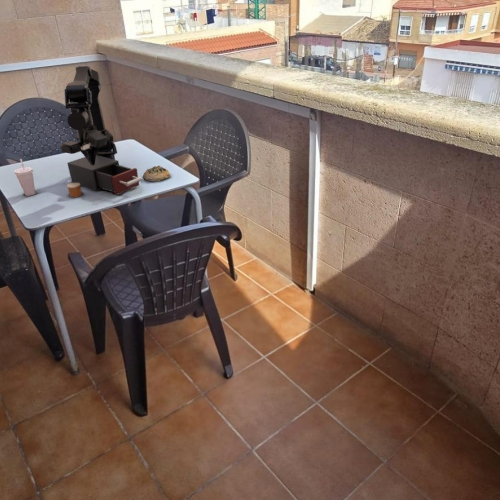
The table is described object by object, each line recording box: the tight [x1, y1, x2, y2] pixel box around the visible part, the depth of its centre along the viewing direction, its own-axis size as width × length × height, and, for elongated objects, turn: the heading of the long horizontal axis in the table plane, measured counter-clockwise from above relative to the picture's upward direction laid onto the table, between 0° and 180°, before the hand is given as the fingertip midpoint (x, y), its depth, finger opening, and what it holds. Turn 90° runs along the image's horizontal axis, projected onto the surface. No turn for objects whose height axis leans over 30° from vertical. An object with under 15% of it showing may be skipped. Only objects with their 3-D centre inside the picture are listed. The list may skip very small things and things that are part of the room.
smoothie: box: [13, 158, 36, 197], centre depth 162 cm, size 6×6×14 cm
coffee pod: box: [66, 182, 83, 198], centre depth 163 cm, size 5×5×4 cm
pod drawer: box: [94, 164, 143, 195], centre depth 166 cm, size 19×11×7 cm, turn 55°
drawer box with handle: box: [67, 155, 120, 192], centre depth 173 cm, size 16×13×9 cm
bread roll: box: [142, 165, 170, 182], centre depth 178 cm, size 11×11×5 cm
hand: (92, 165), depth 159 cm, fingers closed
